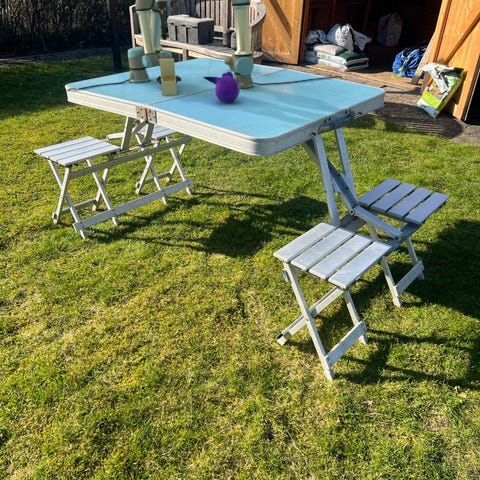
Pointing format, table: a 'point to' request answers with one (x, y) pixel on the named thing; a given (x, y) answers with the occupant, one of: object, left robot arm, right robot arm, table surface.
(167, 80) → the chest
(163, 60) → the beige boxy piece
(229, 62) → the teapot
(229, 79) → the toy
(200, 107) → the table surface
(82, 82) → the table surface
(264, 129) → the table surface
